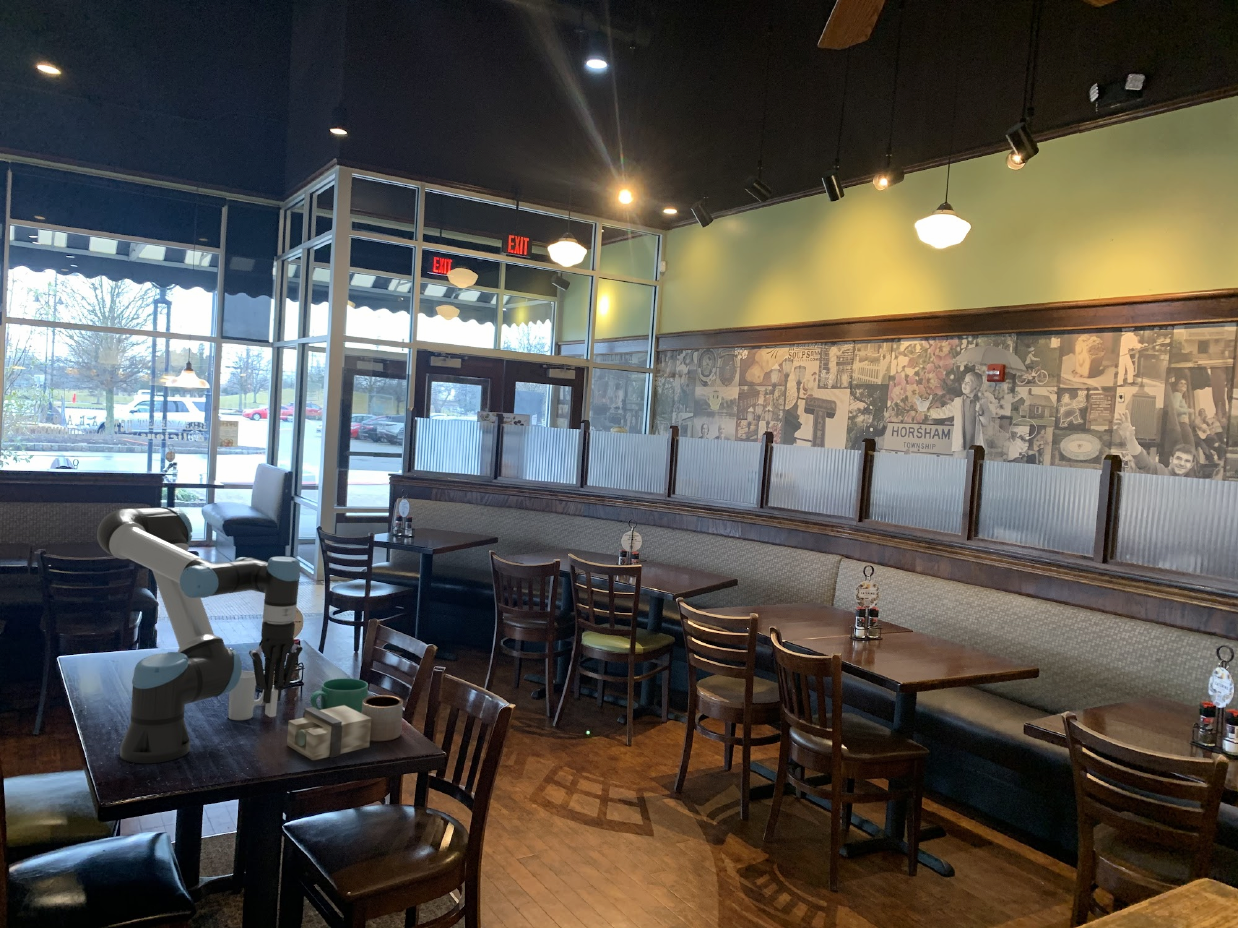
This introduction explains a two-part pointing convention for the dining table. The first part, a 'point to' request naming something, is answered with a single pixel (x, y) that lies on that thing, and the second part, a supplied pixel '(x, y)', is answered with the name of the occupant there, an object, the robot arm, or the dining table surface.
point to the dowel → (304, 735)
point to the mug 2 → (341, 694)
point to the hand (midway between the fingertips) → (270, 714)
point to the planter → (383, 716)
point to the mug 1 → (243, 697)
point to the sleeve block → (330, 732)
